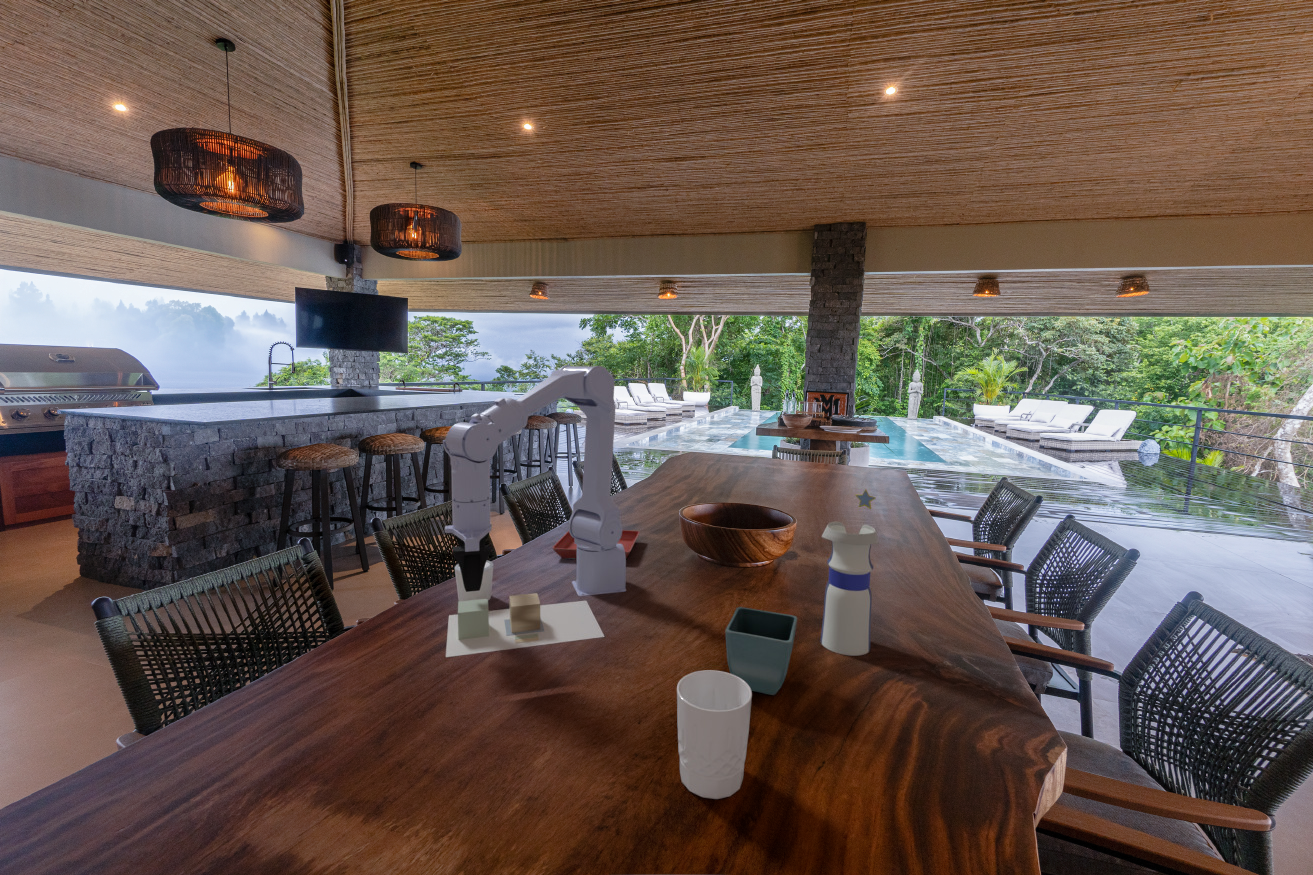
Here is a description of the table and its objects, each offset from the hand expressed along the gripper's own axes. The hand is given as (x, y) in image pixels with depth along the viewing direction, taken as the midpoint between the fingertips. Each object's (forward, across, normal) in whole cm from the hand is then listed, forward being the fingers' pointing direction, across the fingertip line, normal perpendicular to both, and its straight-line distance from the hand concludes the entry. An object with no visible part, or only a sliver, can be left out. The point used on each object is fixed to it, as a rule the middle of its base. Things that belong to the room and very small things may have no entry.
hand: (472, 581), depth 91 cm
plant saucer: (+10, -38, +29) cm, 49 cm away
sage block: (+8, 0, 0) cm, 8 cm away
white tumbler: (+9, -14, 0) cm, 17 cm away
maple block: (+8, 0, +8) cm, 12 cm away
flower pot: (+9, +26, +38) cm, 47 cm away
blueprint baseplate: (+9, 0, +8) cm, 12 cm away
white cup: (+9, +41, +24) cm, 48 cm away
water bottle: (+9, +19, +57) cm, 61 cm away
